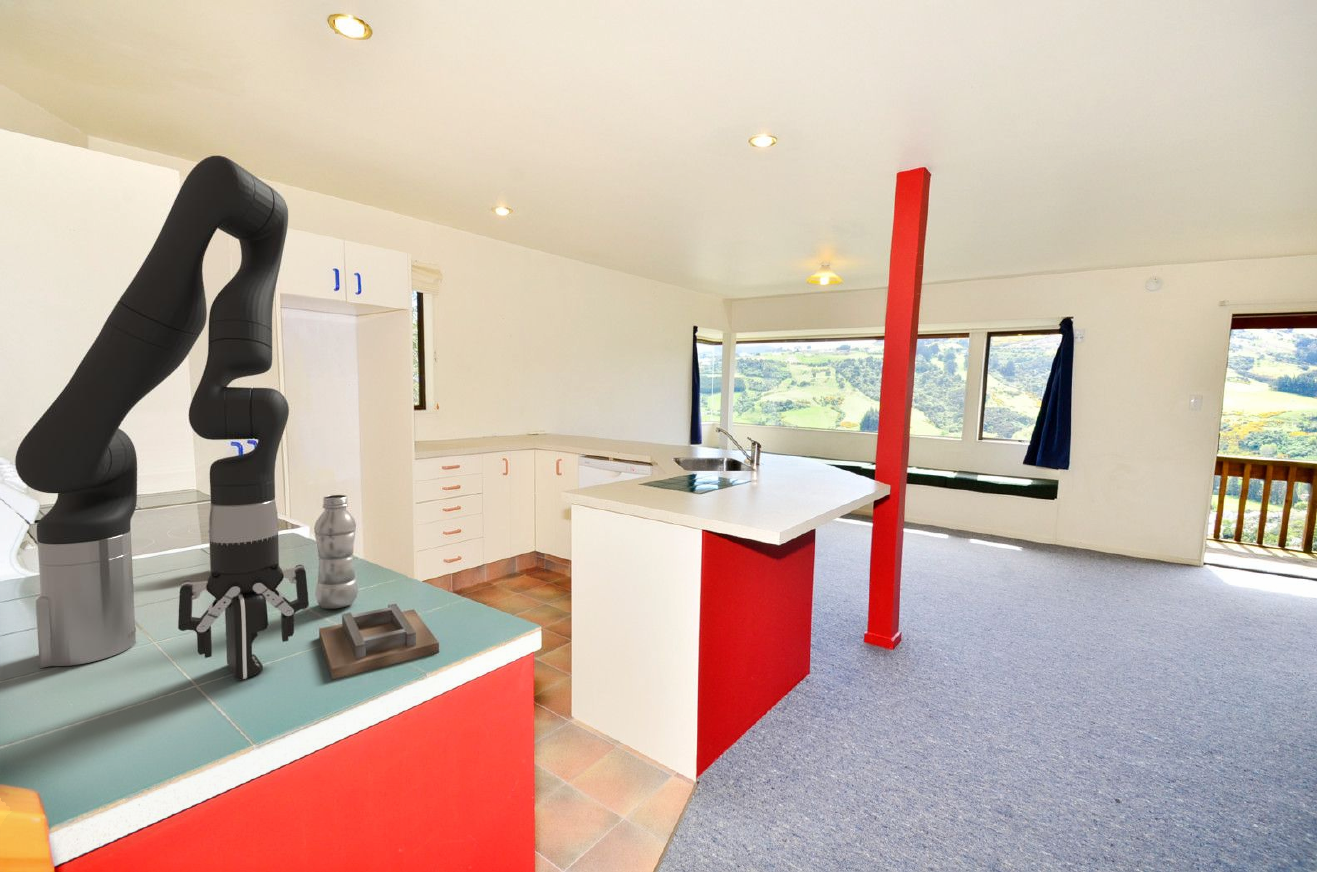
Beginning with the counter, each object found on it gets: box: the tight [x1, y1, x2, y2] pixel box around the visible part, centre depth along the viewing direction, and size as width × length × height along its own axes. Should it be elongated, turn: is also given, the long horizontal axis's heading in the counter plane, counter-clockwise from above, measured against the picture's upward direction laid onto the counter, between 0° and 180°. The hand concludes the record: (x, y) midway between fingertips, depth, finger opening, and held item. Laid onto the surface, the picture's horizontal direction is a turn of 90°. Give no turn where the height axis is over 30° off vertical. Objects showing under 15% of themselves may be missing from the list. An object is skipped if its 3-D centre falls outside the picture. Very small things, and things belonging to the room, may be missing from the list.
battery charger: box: [224, 592, 269, 681], centre depth 76 cm, size 7×4×11 cm, turn 48°
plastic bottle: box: [313, 494, 359, 610], centre depth 97 cm, size 6×7×20 cm
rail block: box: [318, 603, 440, 680], centre depth 84 cm, size 14×15×4 cm
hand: (248, 647), depth 76 cm, fingers open, 8 cm apart
